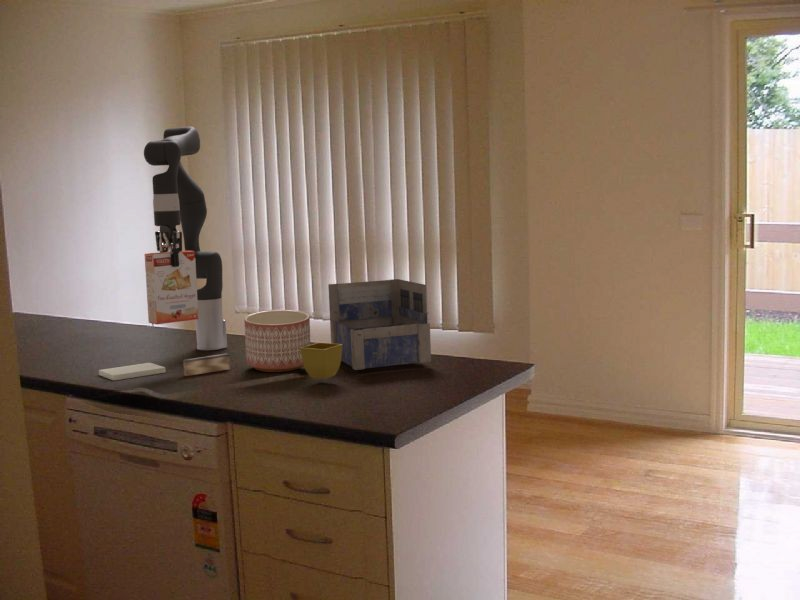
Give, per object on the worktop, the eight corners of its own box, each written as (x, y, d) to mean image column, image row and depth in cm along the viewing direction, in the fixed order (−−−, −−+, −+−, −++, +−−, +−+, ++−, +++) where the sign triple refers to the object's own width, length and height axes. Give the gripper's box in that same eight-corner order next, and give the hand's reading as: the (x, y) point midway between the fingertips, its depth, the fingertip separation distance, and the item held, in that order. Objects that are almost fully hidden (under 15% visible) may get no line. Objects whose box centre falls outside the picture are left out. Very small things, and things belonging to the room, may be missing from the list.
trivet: (150, 367, 292) (149, 362, 292) (165, 372, 282) (165, 367, 282) (99, 374, 283) (98, 370, 282) (113, 380, 273) (112, 375, 273)
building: (431, 361, 284) (428, 284, 281) (355, 370, 275) (351, 290, 272) (403, 350, 305) (400, 278, 303) (331, 357, 297) (328, 284, 294)
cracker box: (158, 325, 276) (153, 253, 273) (148, 323, 280) (142, 253, 278) (200, 319, 285) (195, 250, 283) (189, 318, 289) (185, 249, 287)
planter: (235, 371, 277) (233, 322, 274) (262, 354, 295) (260, 308, 292) (296, 376, 272) (294, 326, 269) (320, 358, 290) (318, 311, 287)
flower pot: (326, 381, 260) (324, 349, 259) (300, 379, 264) (299, 347, 263) (344, 375, 267) (343, 344, 266) (319, 373, 272) (318, 342, 271)
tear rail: (227, 368, 285) (226, 353, 284) (229, 369, 284) (229, 354, 283) (184, 375, 277) (183, 359, 276) (186, 376, 275) (185, 360, 275)
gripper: (189, 208, 275) (192, 266, 277) (168, 209, 287) (172, 264, 289) (164, 210, 271) (168, 268, 273) (144, 210, 282) (148, 266, 284)
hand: (170, 266), depth 281 cm, fingers closed on cracker box, 6 cm apart
